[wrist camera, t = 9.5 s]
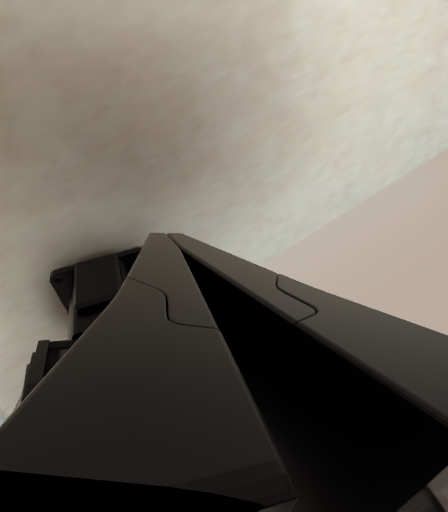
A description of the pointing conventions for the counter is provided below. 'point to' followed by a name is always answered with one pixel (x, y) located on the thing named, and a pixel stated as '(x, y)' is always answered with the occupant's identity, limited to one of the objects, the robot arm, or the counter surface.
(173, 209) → the counter surface
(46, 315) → the counter surface
